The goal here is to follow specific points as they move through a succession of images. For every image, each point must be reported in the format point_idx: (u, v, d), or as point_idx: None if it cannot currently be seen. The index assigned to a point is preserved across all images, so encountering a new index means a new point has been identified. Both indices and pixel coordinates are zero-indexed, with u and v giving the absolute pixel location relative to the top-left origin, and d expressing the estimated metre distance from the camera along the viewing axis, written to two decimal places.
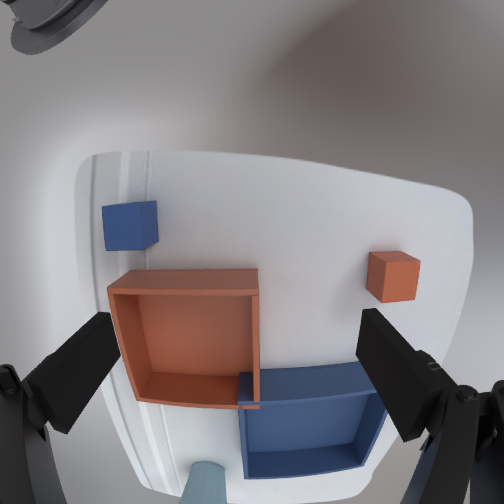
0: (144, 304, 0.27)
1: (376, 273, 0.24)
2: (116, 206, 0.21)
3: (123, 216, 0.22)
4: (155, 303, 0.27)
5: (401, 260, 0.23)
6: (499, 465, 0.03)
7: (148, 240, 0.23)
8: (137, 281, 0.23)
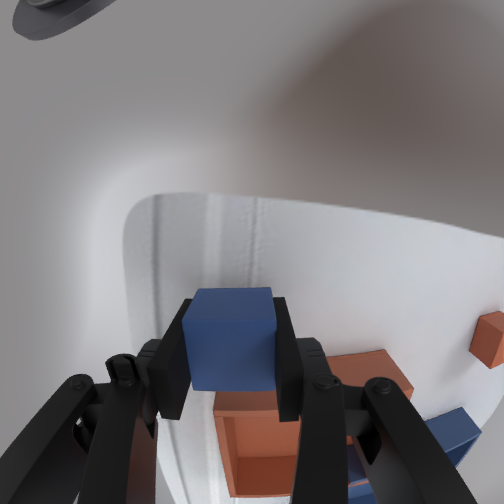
0: None
1: (488, 340, 0.17)
2: (218, 323, 0.11)
3: (234, 341, 0.11)
4: None
5: None
6: (395, 470, 0.04)
7: None
8: (253, 392, 0.16)
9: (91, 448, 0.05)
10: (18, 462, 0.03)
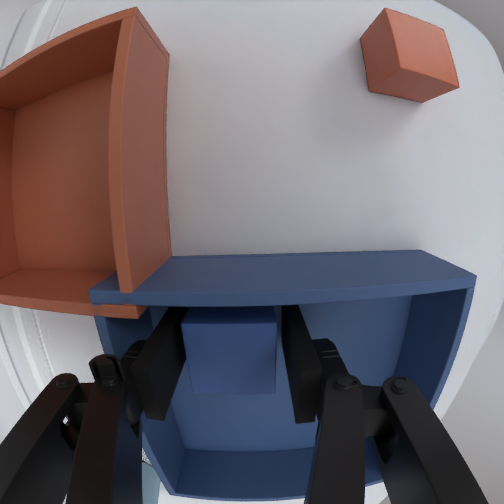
0: (17, 146, 0.13)
1: (377, 42, 0.10)
2: (218, 326, 0.11)
3: (234, 345, 0.11)
4: (28, 139, 0.13)
5: None
6: (410, 468, 0.04)
7: None
8: None
9: (77, 447, 0.05)
10: (8, 461, 0.03)
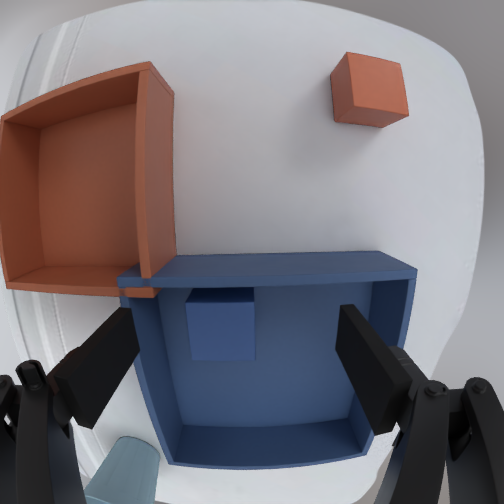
0: (44, 161, 0.17)
1: (341, 81, 0.15)
2: (212, 304, 0.15)
3: (223, 319, 0.15)
4: (54, 156, 0.17)
5: None
6: (477, 464, 0.03)
7: None
8: None
9: (17, 448, 0.04)
10: None
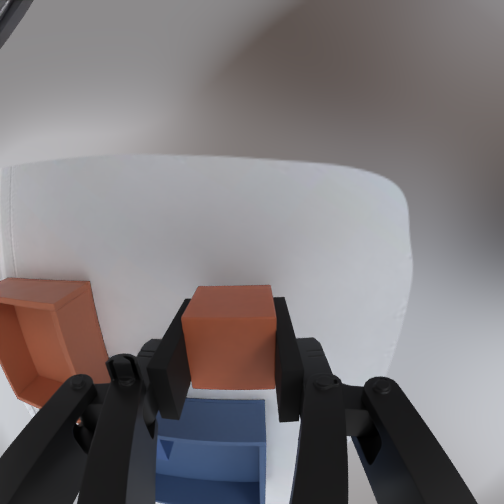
0: (18, 310, 0.21)
1: None
2: None
3: None
4: (24, 310, 0.21)
5: (224, 314, 0.11)
6: (395, 470, 0.04)
7: (169, 449, 0.21)
8: None
9: (91, 448, 0.05)
10: (18, 463, 0.03)
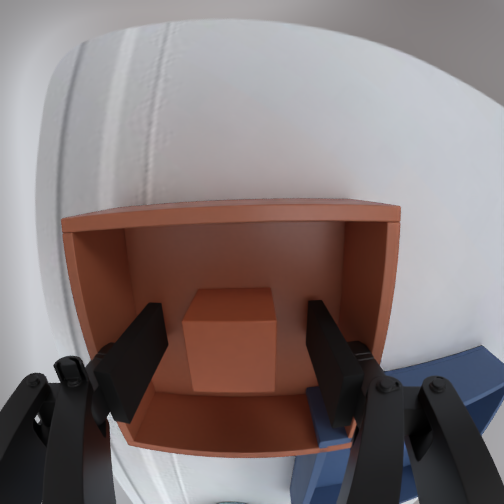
0: (140, 271, 0.15)
1: None
2: None
3: None
4: (160, 268, 0.15)
5: (225, 318, 0.11)
6: (442, 465, 0.04)
7: None
8: (126, 209, 0.11)
9: (48, 446, 0.04)
10: None
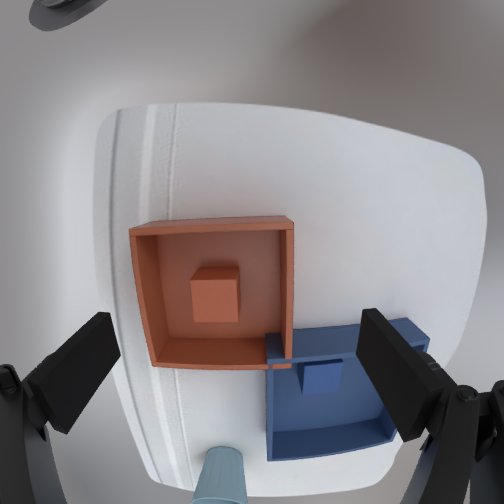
0: (165, 258, 0.26)
1: None
2: (320, 365, 0.24)
3: (325, 372, 0.25)
4: (177, 256, 0.26)
5: (211, 278, 0.23)
6: (499, 465, 0.03)
7: None
8: (162, 224, 0.22)
9: None
10: None
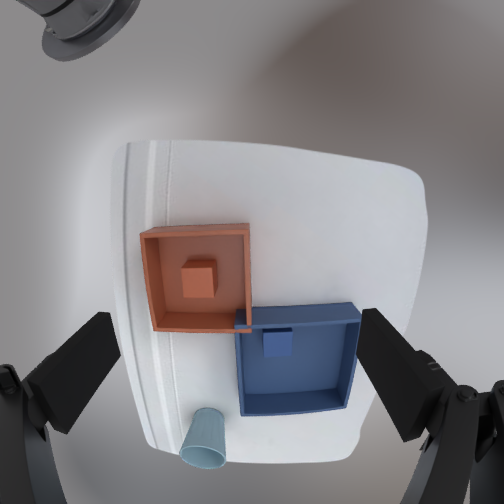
0: (164, 253, 0.37)
1: None
2: (275, 333, 0.35)
3: (279, 339, 0.35)
4: (172, 251, 0.37)
5: (195, 267, 0.34)
6: (499, 465, 0.03)
7: None
8: (162, 230, 0.33)
9: None
10: None
